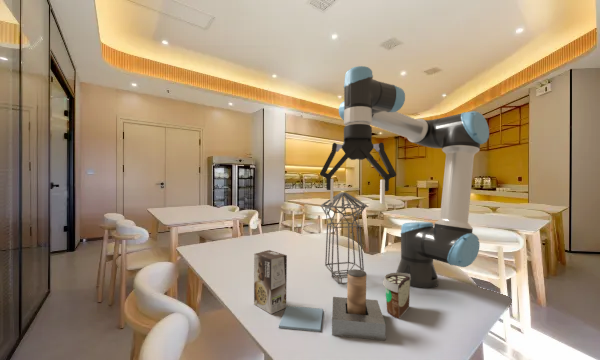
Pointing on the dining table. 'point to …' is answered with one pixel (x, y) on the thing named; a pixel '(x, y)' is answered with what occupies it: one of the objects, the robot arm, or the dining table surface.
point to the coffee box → (270, 280)
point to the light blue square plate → (302, 318)
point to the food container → (397, 293)
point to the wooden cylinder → (356, 292)
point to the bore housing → (358, 321)
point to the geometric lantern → (351, 199)
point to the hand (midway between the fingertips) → (356, 203)
